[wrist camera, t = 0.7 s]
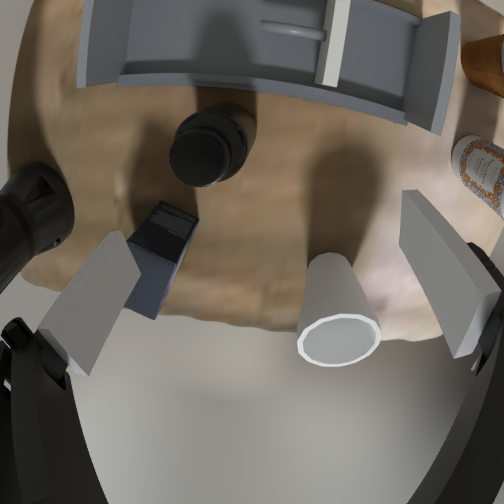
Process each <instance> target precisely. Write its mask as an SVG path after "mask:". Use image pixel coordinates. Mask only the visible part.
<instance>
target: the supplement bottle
mask: <svg viewBox="0 0 504 504" xmlns="http://www.w3.org/2000/svg"><path fill="white" fill-rule="evenodd" d="M255 138H256V124H255V121H254V118H253V116H252V115H251V113H250V112H249V111H248V110H247V109H246V108H244V107H243V106H241V105H239V104H237V103H233V102H220V103H216V104H213V105H211V106H209V107H206V108H204V109H202V110H200V111H198V112H196V113H194V114H192V115H190V116H189V117H187V118H186V119H185V120H184V121H183V122H182V123H181V124H180V126H179V127H178V129H177V131H176V133H175V136H174V141H173V144H172V148H171V149H170V154H169V157H170V160H169V161H170V163H171V168H172V169H173V172H174V173H175V175H176V176H177V177H178V178H179V179H180V180H181V181H183V182H184V183H186V184H188V185H190V186H194V187H203V186H204V187H207V186H208V185H212V184H213V183H216V182H221V181H224V180H227V179H229V178H230V177H232V176H234V175H235V174H236V173H237V172H238V171H239V170H240V169H241V167H242V166H243V164H244V163H245V160H246V159H247V156H248V154H249V152H250V150H251V148H252V146H253V144H254V141H255Z"/></svg>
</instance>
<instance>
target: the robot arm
mask: <svg viewBox="0 0 504 504" xmlns="http://www.w3.org/2000/svg"><path fill="white" fill-rule="evenodd" d="M73 225H74V209H73V204H72V200H71V197H70V194H69V192H68V190H67V188H66V186H65V184H64V182H63V181H62V179H61V178H60V177H59V176H58V174H57V173H56V172H55V171H54V170H53V169H51V168H50V167H49V166H47V165H45V164H43V163H40V162H30V163H28V164H26V165H24V166H22V167H21V168H19V169H18V170H16V171H15V172H14V173H13V175H12V176H11V177H10V179H9V180H8V181H7V183H6V184H5V185H4V187H3V188H2V189H1V190H0V294H1V293H2V292H3V290H4V289H5V288H6V287H7V286H8V284H9V283H10V282H11V281H12V280H13V278H14V277H15V276H16V275H17V274H18V273H19V272H20V271H21V270H22V268H23V267H24V266H25V265H26V264H27V263H28V262H29V261H30V260H31V259H32V258H33V257H34V256H36V255H39V254H41V253H43V252H46V251H48V250H50V249H53V248H55V247H57V246H58V245H60V244H61V243H62V242H63V241H64V240H65V239H66V238H67V237H68V236H69V235H70V233H71V231H72V229H73ZM399 246H400V247H401V249H402V251H403V253H404V254H405V256H406V258H407V260H408V262H409V263H410V265H411V267H412V269H413V271H414V273H415V275H416V277H417V279H418V280H419V282H420V284H421V286H422V288H423V290H424V292H425V294H426V296H427V298H428V300H429V303H430V305H431V307H432V309H433V311H434V313H435V315H436V318H437V320H438V322H439V324H440V327H441V329H442V331H443V333H444V336H445V338H446V341H447V343H448V345H449V348H450V350H451V353H452V355H453V358H458V357H461V356H465V355H468V354H471V353H472V352H473V350H474V348H475V347H476V345H477V343H478V342H479V344H480V346H481V349H482V351H481V353H480V355H479V357H478V358H477V360H476V362H475V363H474V365H473V367H472V368H471V370H474V369H475V370H474V373H473V376H472V379H471V382H470V384H469V387H468V390H467V392H466V395H465V397H464V400H463V402H462V405H461V408H460V410H459V412H458V414H457V417H456V419H455V421H454V423H453V425H452V427H451V430H450V432H449V434H448V436H447V438H446V440H445V442H444V444H443V446H442V448H441V449H440V451H439V454H438V455H437V457H436V459H435V460H434V462H433V464H432V466H431V467H430V469H429V471H428V472H427V474H426V476H425V477H424V479H423V480H422V482H421V484H420V485H419V487H418V488H417V490H416V491H415V493H414V494H413V496H412V497H411V499H410V500H409V502H408V503H407V504H493V502H494V500H495V498H496V496H497V494H498V492H499V490H500V488H501V485H502V483H503V481H504V277H503V275H502V274H501V273H500V271H499V270H498V269H497V268H495V265H494V263H493V262H492V261H491V260H490V258H489V257H488V256H487V255H486V253H485V252H484V251H483V250H482V249H481V248H480V247H478V246H477V245H475V244H474V243H472V242H470V243H465V241H464V240H463V239H462V238H461V236H460V235H459V234H458V233H457V232H456V231H455V229H454V228H453V227H452V226H451V225H450V224H449V223H448V221H447V220H446V219H445V218H444V217H443V216H442V215H441V214H440V213H439V211H438V210H437V209H436V208H435V207H434V206H433V205H432V204H431V203H430V202H429V201H428V200H427V199H426V198H425V197H424V196H423V195H422V194H421V193H420V192H419V191H418V190H404V191H402V208H401V225H400V238H399ZM140 276H141V272H140V270H139V268H138V266H137V264H136V262H135V260H134V258H133V256H132V253H131V251H130V249H129V247H128V245H127V242H126V240H125V238H124V236H123V233H122V231H121V230H119V231H114V232H109V234H108V235H107V236H106V237H105V238H104V239H103V241H102V242H101V243H100V244H99V245H98V246H97V248H96V249H95V250H94V251H93V253H92V254H91V255H90V256H89V257H88V259H87V260H86V261H85V262H84V264H83V265H82V266H81V267H80V269H79V270H78V271H77V273H76V274H75V275H74V276H73V278H72V279H71V280H70V282H69V283H68V284H67V286H66V287H65V288H64V290H63V291H62V293H61V294H60V295H59V297H58V298H57V299H56V301H55V302H54V304H53V305H52V307H51V308H50V309H49V311H48V312H47V314H46V315H45V317H44V318H43V320H42V321H41V323H40V324H39V326H38V327H37V330H36V332H35V333H34V334H33V333H32V331H31V330H30V329H29V327H28V326H27V325H26V324H25V322H24V321H23V319H22V318H20V317H17V318H14V319H13V320H11V321H10V322H9V323H8V324H7V325H6V326H5V327H4V329H3V330H2V333H1V337H2V338H3V339H4V340H5V341H6V343H7V344H8V345H9V346H10V347H11V348H9V347H8V346H7V345H6V344H5V342H4V341H2V340H1V341H0V504H108V501H107V499H106V497H105V495H104V492H103V490H102V487H101V485H100V482H99V480H98V477H97V474H96V472H95V469H94V466H93V463H92V460H91V457H90V455H89V451H88V448H87V445H86V442H85V438H84V435H83V432H82V428H81V424H80V420H79V417H78V412H77V408H76V404H75V400H74V395H73V390H72V386H71V380H70V376H69V374H68V373H67V372H66V371H65V370H66V368H67V366H69V367H70V368H71V369H72V370H73V371H74V372H75V373H76V374H78V375H84V376H89V375H90V372H91V370H92V368H93V366H94V364H95V362H96V360H97V358H98V355H99V353H100V351H101V349H102V347H103V345H104V343H105V341H106V339H107V337H108V335H109V333H110V331H111V329H112V327H113V325H114V323H115V321H116V319H117V317H118V316H119V314H120V312H121V310H122V308H123V306H124V304H125V303H126V301H127V299H128V297H129V295H130V293H131V292H132V290H133V288H134V286H135V284H136V283H137V281H138V279H139V277H140ZM5 379H6V381H7V382H8V383H9V384H10V385H11V391H10V390H9V389H8V388H6V387H5V386H4V381H5Z"/></svg>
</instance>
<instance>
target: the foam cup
mask: <svg viewBox="0 0 504 504" xmlns="http://www.w3.org/2000/svg"><path fill="white" fill-rule="evenodd" d="M380 337H381V328H380V324H379V321H378V317H377V315H376V313H375V311H374V310H373V308H372V306H371V305H370V303H369V301H368V299H367V297H366V295H365V293H364V291H363V289H362V287H361V285H360V283H359V281H358V279H357V277H356V275H355V273H354V271H353V269H352V267H351V265H350V263H349V262H348V260H347V258H346V257H344V256H342V255H341V254H339V253H331V252H327V253H324V254H321V255H318V256H317V257H315V258H314V259H313V260H312V261H311V262H310V264H309V266H308V268H307V273H306V280H305V287H304V294H303V301H302V308H301V314H300V321H299V323H298V324H297V344H298V351H299V353H300V355H302V356H303V357H304V358H305V359H306V360H307V361H308V362H311V363H314V364H317V365H320V366H331V367H335V366H336V367H339V366H344V365H348V364H352V363H355V362H358V361H359V360H361V359H363V358H365V357H366V356H368V355H370V354H371V353H372V352H373V351H374V349H375V348H376V347H377V346H378V345H379V343H380Z"/></svg>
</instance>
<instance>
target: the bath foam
mask: <svg viewBox="0 0 504 504" xmlns="http://www.w3.org/2000/svg"><path fill="white" fill-rule="evenodd" d="M452 169H453V172H454V174H455V176H456V178H457V179H458V180H459V181H460V182H461V183H463V184H464V185H465V186H466V187H467V188H469V189H470V190H471V191H472V192H473V193H475V194H476V195H477V196H478V197H479V198H480V199H482V200H483V201H484V202H485V203H486V204H487V205H488V206H489V207H491V208H492V209H493V210H494V211H495V212H496V213H497V214H498V215H499V216H500V217H501V218H502V219H503V220H504V149H502V148H501V147H499V146H497V145H495V144H493V143H491V142H489V141H487V140H485V139H483V138H480V137H478V136H475V135H468V136H465V137H463V138H462V139H460V140H459V141H458V143H457V144H456V146H455V148H454V150H453V153H452Z"/></svg>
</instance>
